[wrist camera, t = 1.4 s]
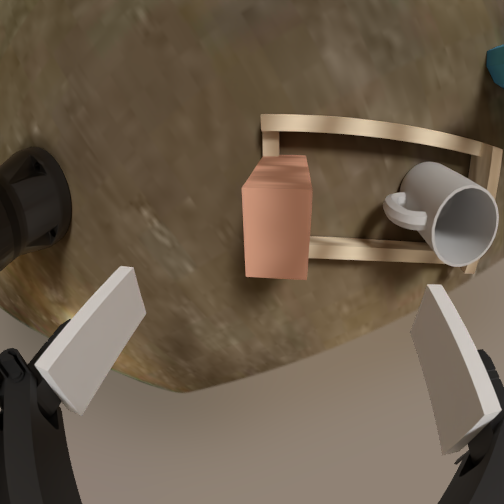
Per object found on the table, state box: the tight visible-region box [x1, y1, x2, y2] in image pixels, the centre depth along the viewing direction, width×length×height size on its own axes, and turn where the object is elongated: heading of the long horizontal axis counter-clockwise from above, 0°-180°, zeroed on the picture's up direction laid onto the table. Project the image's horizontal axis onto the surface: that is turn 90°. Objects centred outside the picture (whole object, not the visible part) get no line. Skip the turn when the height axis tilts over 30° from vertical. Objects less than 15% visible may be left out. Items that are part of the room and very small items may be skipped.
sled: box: [242, 114, 503, 280], centre depth 21 cm, size 24×14×12 cm, turn 92°
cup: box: [383, 162, 499, 267], centre depth 22 cm, size 7×10×9 cm
